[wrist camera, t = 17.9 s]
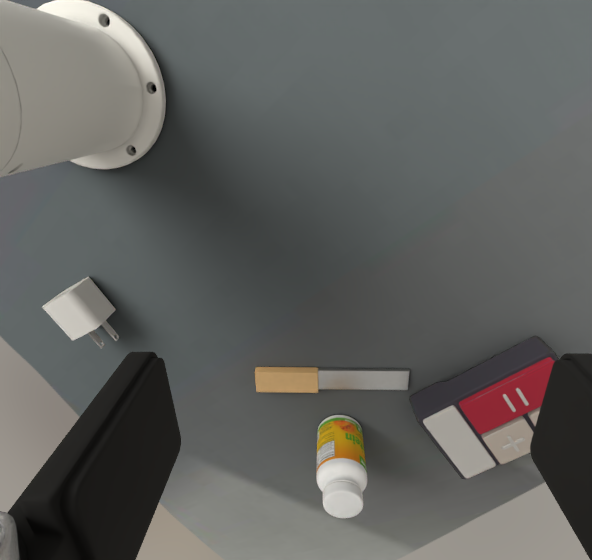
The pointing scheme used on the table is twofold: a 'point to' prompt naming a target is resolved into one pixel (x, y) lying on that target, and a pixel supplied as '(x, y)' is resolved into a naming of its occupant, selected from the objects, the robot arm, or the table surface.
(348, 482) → the supplement bottle
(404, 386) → the chisel
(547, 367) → the calculator
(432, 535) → the table surface
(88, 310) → the usb wall charger
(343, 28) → the table surface
